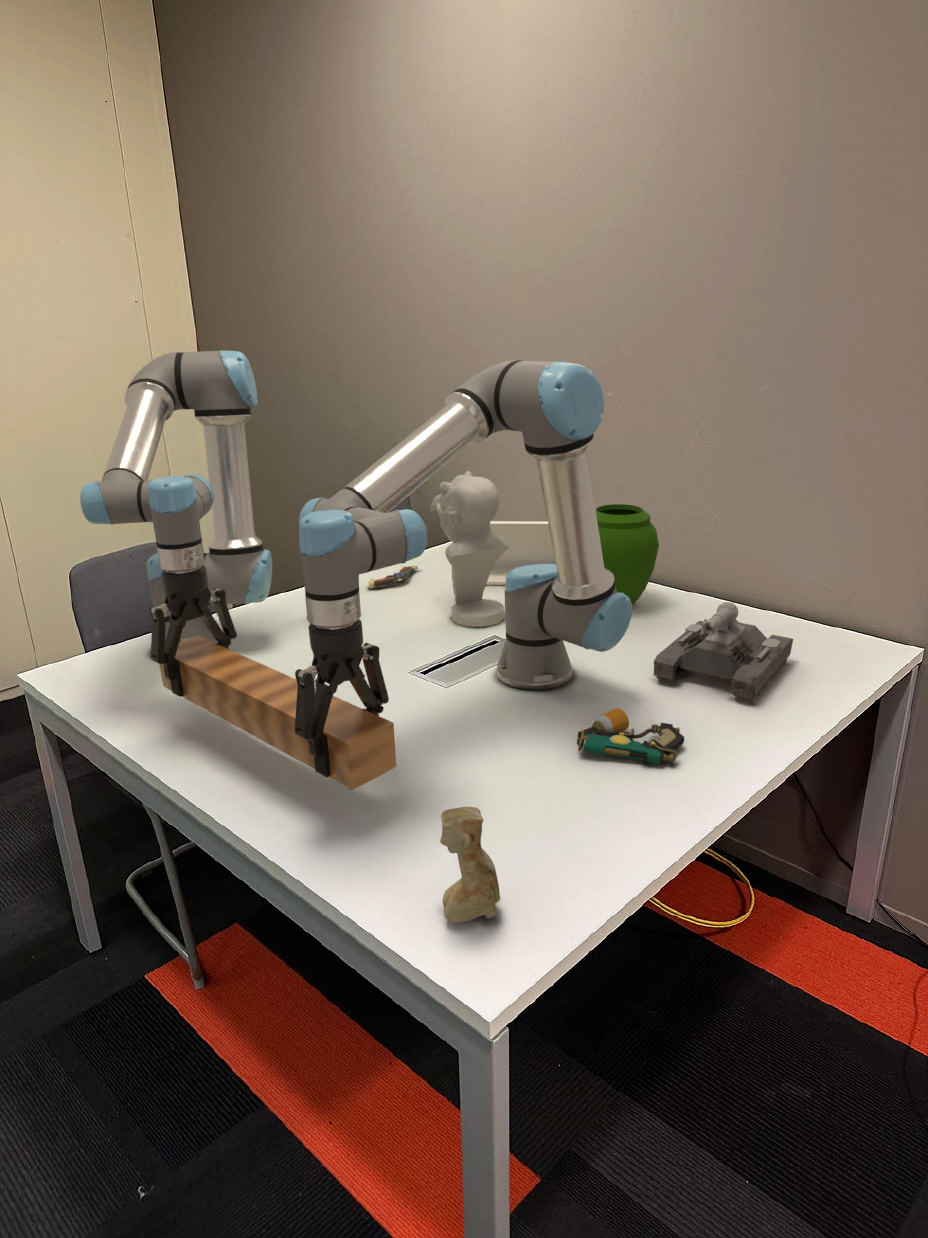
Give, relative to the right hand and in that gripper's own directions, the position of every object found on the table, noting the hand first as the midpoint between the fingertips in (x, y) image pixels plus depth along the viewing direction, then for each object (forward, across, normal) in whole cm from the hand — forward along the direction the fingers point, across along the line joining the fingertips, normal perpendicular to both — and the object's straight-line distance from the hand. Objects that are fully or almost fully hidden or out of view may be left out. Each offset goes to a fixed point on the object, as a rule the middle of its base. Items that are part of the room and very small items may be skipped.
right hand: (347, 761), depth 129 cm
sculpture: (+9, -5, -30) cm, 32 cm away
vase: (+9, +103, +20) cm, 105 cm away
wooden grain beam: (+1, 0, +21) cm, 21 cm away
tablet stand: (+9, +108, +54) cm, 121 cm away
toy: (+9, +83, -19) cm, 85 cm away
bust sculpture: (+9, +74, +45) cm, 87 cm away
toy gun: (+9, +82, +80) cm, 115 cm away
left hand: (0, 0, +42) cm, 42 cm away
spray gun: (+9, +44, -22) cm, 50 cm away
